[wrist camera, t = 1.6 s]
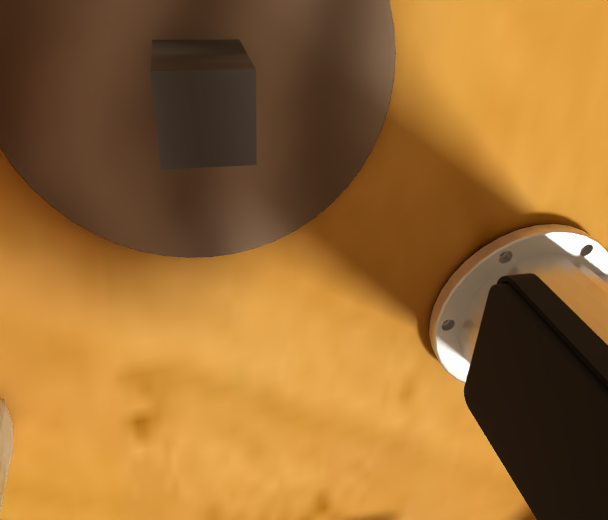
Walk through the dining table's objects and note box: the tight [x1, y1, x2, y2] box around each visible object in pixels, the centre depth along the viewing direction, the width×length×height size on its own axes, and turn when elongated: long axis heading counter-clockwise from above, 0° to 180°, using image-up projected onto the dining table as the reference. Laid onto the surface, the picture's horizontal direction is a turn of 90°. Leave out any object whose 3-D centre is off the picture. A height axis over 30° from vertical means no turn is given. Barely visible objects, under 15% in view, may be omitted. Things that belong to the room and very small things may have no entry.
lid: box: [0, 0, 396, 258], centre depth 23 cm, size 18×18×6 cm
